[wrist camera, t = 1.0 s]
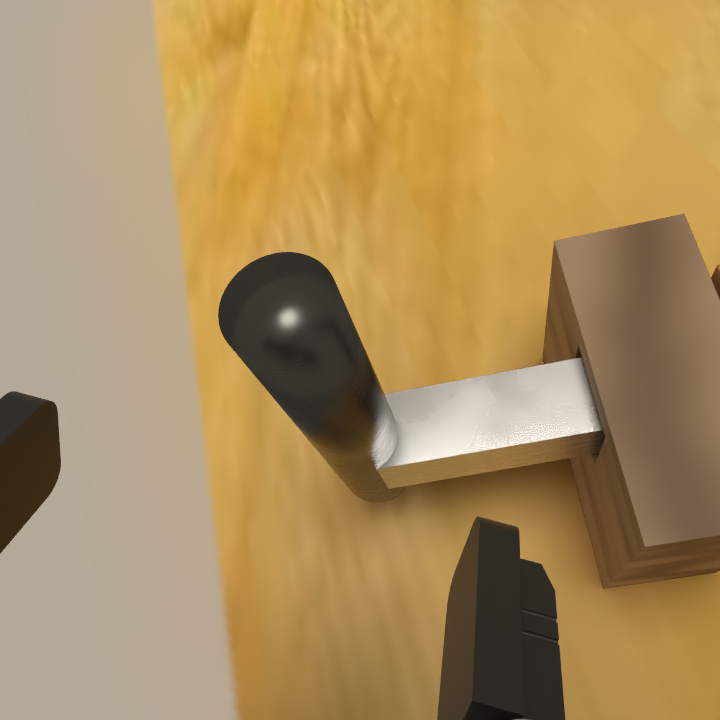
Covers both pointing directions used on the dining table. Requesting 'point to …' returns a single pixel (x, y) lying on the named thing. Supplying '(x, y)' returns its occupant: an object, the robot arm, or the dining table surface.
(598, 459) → the bearing block
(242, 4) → the dining table surface
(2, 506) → the robot arm
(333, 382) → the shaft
